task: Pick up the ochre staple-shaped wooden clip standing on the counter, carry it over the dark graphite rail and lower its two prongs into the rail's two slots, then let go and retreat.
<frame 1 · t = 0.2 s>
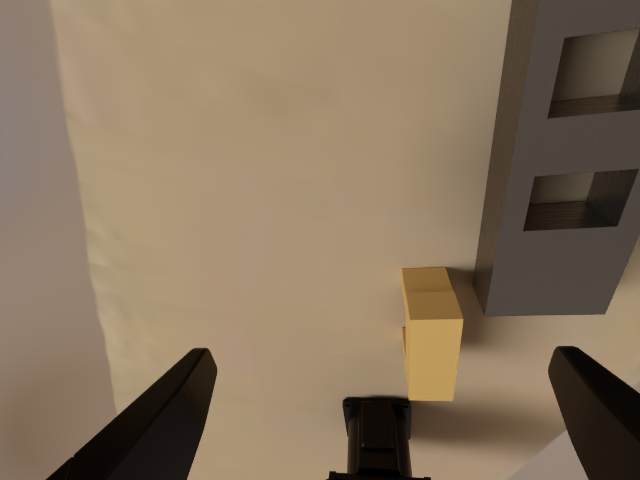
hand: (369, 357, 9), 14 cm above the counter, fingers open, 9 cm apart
clip: (421, 307, 26), on the counter
rail: (563, 127, 18), on the counter
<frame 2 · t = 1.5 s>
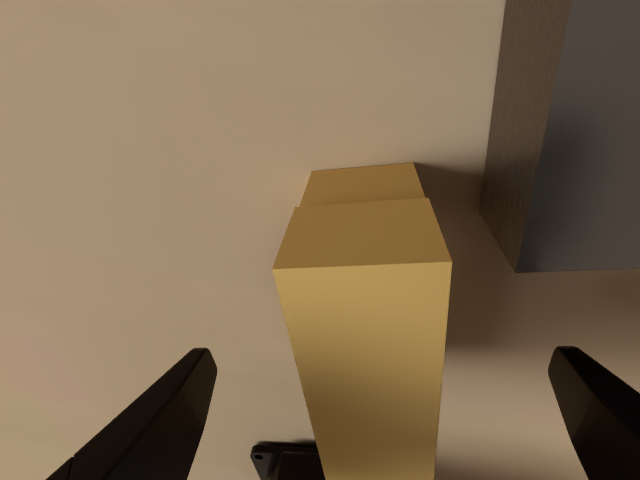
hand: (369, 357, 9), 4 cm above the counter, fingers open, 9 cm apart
clip: (368, 269, 12), on the counter
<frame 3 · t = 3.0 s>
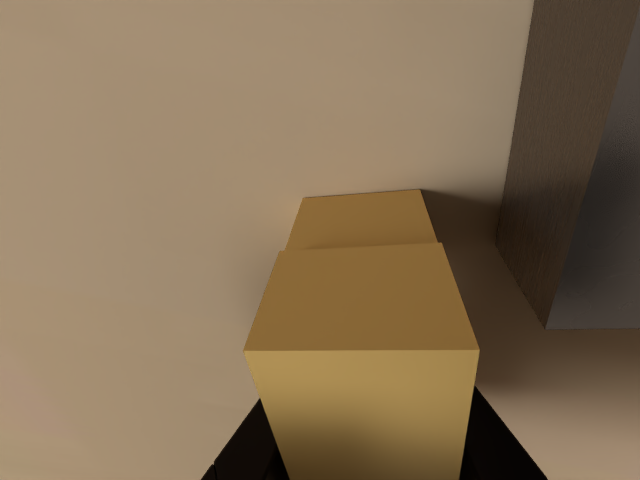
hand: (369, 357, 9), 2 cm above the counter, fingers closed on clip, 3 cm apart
clip: (368, 304, 11), on the counter, touching gripper
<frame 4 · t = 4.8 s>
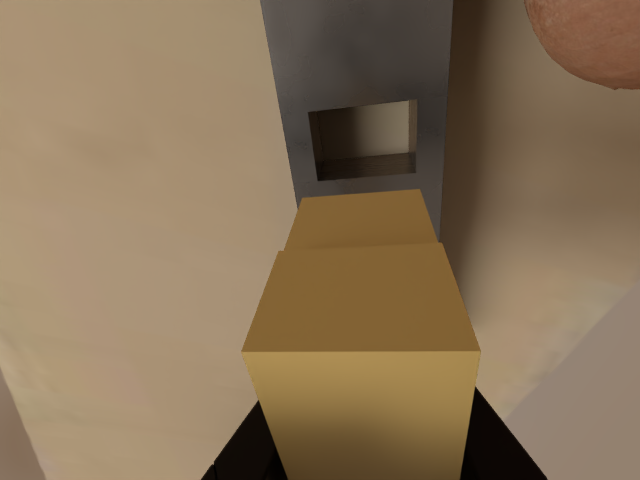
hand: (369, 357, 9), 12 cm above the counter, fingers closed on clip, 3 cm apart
clip: (368, 304, 11), point 10 cm above the counter, touching gripper
rail: (366, 181, 19), on the counter
when the fingers open (3 cm above the counter, at t = 6.7 s): clip drops 1 cm, resting on rail.
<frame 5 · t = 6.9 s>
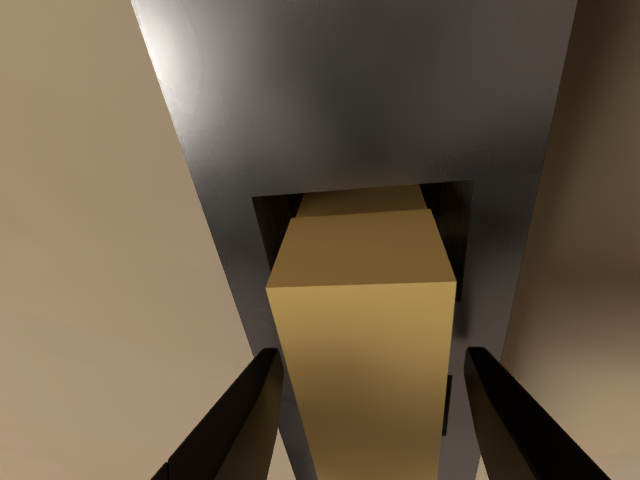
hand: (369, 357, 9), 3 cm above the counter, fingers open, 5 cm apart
clip: (367, 278, 12), resting on rail
rail: (368, 275, 12), on the counter
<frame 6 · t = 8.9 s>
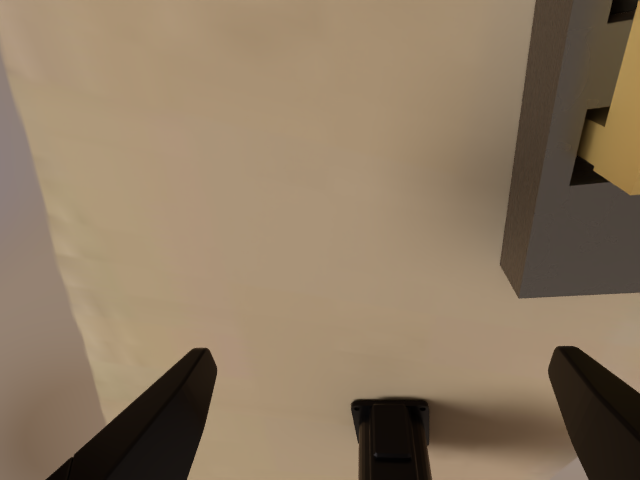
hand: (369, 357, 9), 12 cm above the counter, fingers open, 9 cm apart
clip: (620, 50, 14), resting on rail
rail: (617, 50, 14), on the counter
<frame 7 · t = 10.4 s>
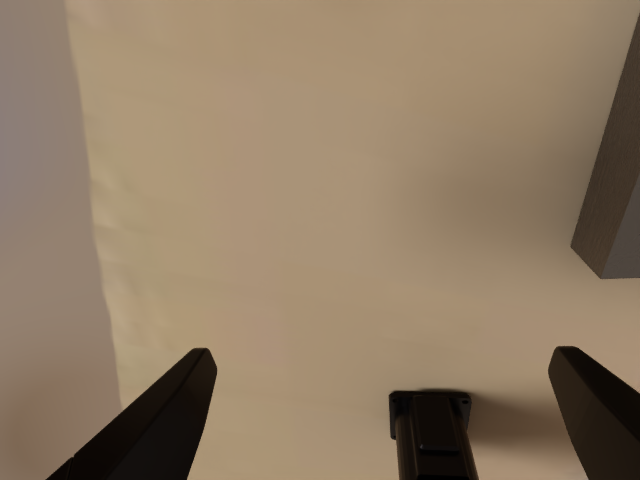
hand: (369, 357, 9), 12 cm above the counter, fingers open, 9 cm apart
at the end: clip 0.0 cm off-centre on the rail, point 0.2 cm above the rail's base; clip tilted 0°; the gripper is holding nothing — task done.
